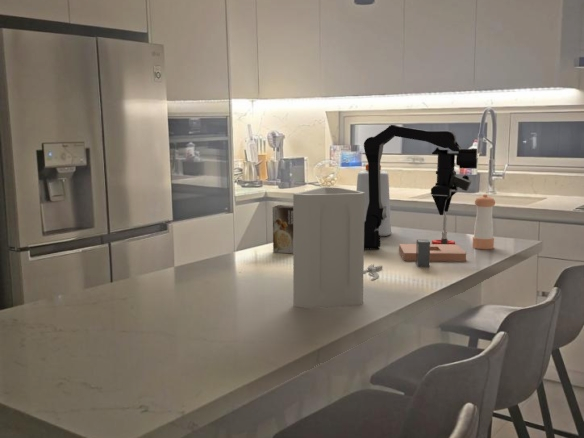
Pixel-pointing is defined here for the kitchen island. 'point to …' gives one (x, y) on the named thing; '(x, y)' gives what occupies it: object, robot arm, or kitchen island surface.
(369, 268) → the pliers
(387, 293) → the kitchen island surface
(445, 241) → the tow hook
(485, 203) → the pepper shaker
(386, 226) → the plastic bottle
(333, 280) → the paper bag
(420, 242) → the dark gray brick
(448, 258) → the tan flat board
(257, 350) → the kitchen island surface
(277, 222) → the coffee box
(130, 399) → the kitchen island surface
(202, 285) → the kitchen island surface
